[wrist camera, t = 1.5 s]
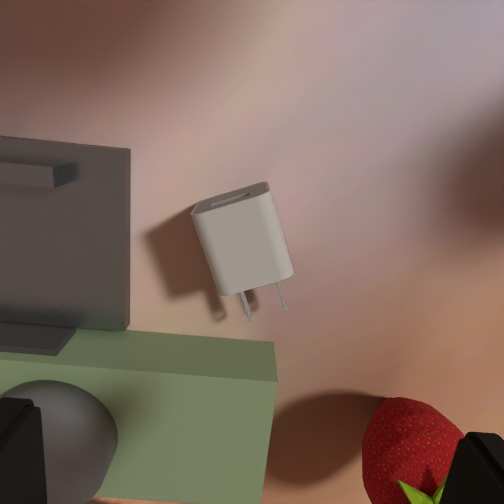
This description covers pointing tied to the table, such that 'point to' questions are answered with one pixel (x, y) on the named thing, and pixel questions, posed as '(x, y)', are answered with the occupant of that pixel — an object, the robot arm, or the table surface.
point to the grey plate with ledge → (64, 234)
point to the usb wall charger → (242, 241)
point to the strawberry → (407, 452)
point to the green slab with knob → (145, 412)
